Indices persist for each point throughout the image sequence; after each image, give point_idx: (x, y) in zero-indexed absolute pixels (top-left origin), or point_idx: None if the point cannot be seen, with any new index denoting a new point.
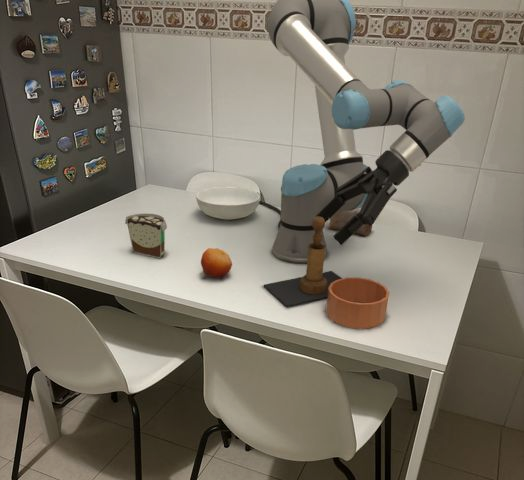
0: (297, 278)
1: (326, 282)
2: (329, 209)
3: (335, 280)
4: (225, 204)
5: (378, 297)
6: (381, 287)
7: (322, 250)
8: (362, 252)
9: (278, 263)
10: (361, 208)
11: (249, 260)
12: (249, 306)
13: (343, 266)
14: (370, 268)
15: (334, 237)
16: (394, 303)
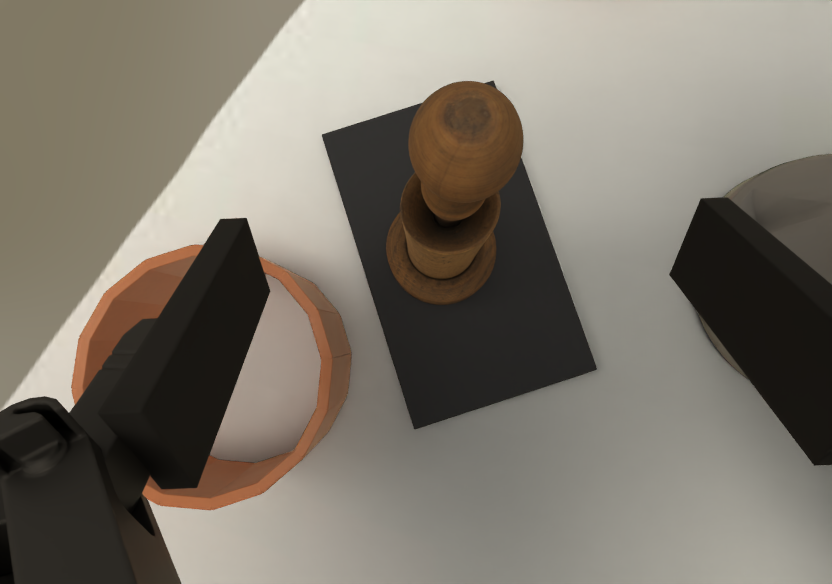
0: (535, 214)
1: (416, 295)
2: (759, 303)
3: (503, 361)
4: None
5: (257, 470)
6: (229, 490)
7: (406, 232)
8: (810, 579)
9: (701, 173)
10: (112, 534)
11: (736, 64)
12: (351, 20)
13: (656, 440)
14: (628, 556)
15: (218, 224)
16: (303, 540)
